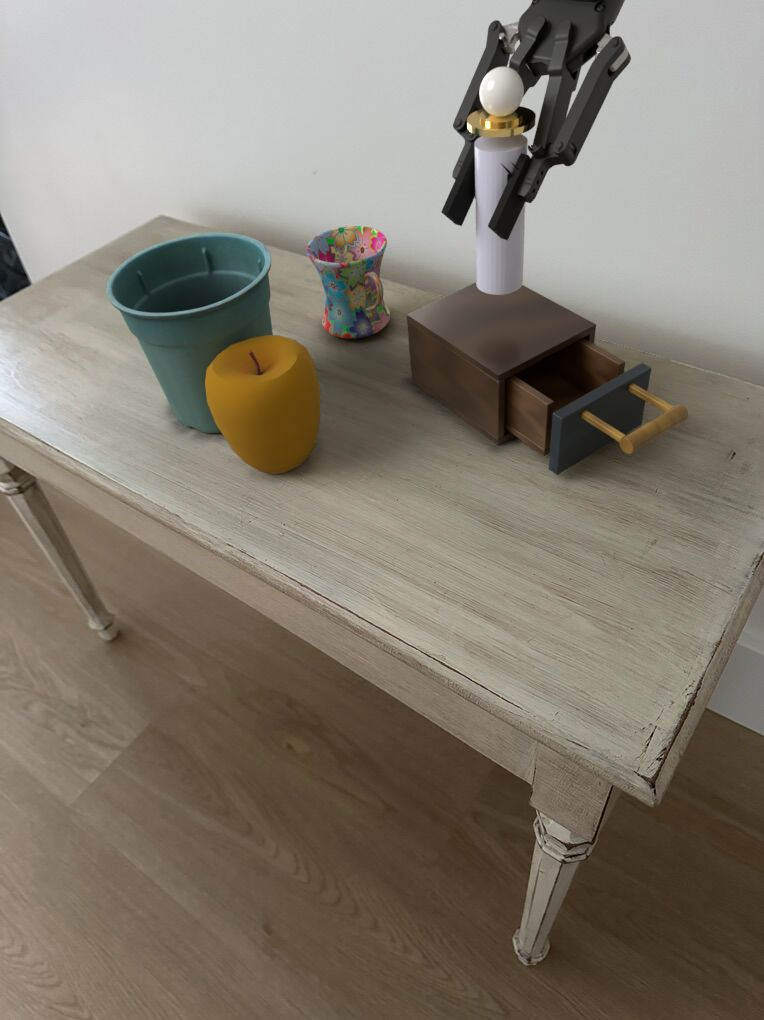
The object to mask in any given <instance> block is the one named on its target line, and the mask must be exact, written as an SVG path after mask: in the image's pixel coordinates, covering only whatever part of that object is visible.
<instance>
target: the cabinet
mask: <svg viewBox="0 0 764 1020" xmlns="http://www.w3.org/2000/svg"><path fill="white" fill-rule="evenodd" d="M406 325H407V336H408V337H407V339H408V352H409V360H410V361H409V362H410V375H411V382H412V383H413V384H415V385H416V386H417V387H419V388H420V389H421V390H423V391H424V392H425V393H427V394H428V395H429V396H431V397H432V398H433V399H435V400H436V401H437V402H439V403H440V404H442V405H443V406H444V407H445V408H446V409H448V410H449V411H451V412H452V413H454V414H455V415H456V416H457V417H459V418H460V419H462V420H463V421H464V422H466V423H467V424H469V425H470V426H471V427H472V428H473V429H475V430H476V431H478V432H479V433H481V434H482V435H483V436H485V437H486V438H488V439H489V440H490V441H492V443H494V444H495V445H497V446H500V445H501V444H503V443H505V442H506V441H509V440H510V439H512V438H514V437H516V436H515V435H513V434H512V433H511V432H509V431H508V430H506V429H505V428H504V406H505V379H506V378H508V377H510V376H511V375H513V374H515V373H517V372H519V371H521V370H523V369H525V368H527V367H528V366H530V365H532V364H534V363H536V362H538V361H540V360H542V359H544V358H546V357H547V356H549V355H551V354H553V353H555V352H557V351H559V350H561V349H563V348H564V347H566V346H568V345H570V344H572V343H574V342H576V341H578V340H580V339H582V338H585V339H586V340H588V341H590V342H592V343H594V344H595V340H596V339H595V338H596V331H597V324H596V323H595V322H593V321H590V320H589V319H587V318H585V317H583V316H581V315H579V314H578V313H576V312H574V311H572V310H570V309H568V308H566V307H564V306H563V305H561V304H559V303H557V302H555V301H553V300H552V299H550V298H548V297H546V296H544V295H542V294H540V293H539V292H536V291H535V290H533V289H531V288H529V287H528V286H526V285H524V284H522V286H521V287H520V288H519V289H518V290H516V291H514V292H512V293H509V294H503V295H493V294H488V293H485V292H482V291H481V290H479V289H478V288H477V286H476V282H473V283H472V284H469V285H467V286H465V287H463V288H460V289H458V290H456V291H454V292H452V293H450V294H448V295H446V296H443V297H441V298H439V299H437V300H435V301H433V302H430V303H428V304H426V305H423V306H422V307H420V308H417V309H416V310H413V311H411V312H409V313H407V314H406Z"/></svg>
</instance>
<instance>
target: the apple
mask: <svg viewBox="0 0 764 1020" xmlns="http://www.w3.org/2000/svg"><path fill="white" fill-rule="evenodd" d="M319 381H320V380H319V377H318V374H317V371H316V366H315V362H314V360H313V357H312V355H311V354H310V352H309V350H308V349H307V348H306V347H305V346H304V345H303V344H301V342H299V341H298V340H296V339H294V338H290V337H286V336H283V335H280V334H279V335H278V334H275V335H274V334H273V335H265V336H260V337H254V338H250V339H247V340H244V341H241V342H238V343H235V344H232V345H230V346H229V347H228V348H226V349H225V350H223V351H222V352H221V353H220V354H219V355H217V357H216V358H215V359H214V360H213V362H212V363H211V364H210V365H209V367H208V368H207V371H206V379H205V388H206V396H207V403H208V406H209V408H210V411H211V413H212V415H213V418H214V420H215V423H216V425H217V426H218V428H219V430H220V431H221V432H220V433H221V435H222V436H223V437H224V439H225V440H226V442H227V444H228V445H229V446H230V448H231V450H232V451H233V452H234V454H235V455H236V456H238V458H239V459H241V461H242V462H244V463H245V464H246V465H248V466H249V467H251V468H253V469H255V470H257V471H259V472H262V473H265V474H268V475H269V474H270V475H276V474H281V473H282V474H283V473H287V472H289V471H291V470H293V469H295V468H298V467H300V465H302V464H303V463H304V462H305V461H306V460H308V458H309V456H310V455H311V454H312V452H313V449H314V448H315V447H316V443H317V439H318V436H319V431H320V421H321V387H320V382H319Z"/></svg>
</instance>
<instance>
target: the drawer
mask: <svg viewBox="0 0 764 1020" xmlns="http://www.w3.org/2000/svg"><path fill="white" fill-rule="evenodd" d="M625 368H626V361H625V360H624V359H622V358H620V357H619V356H617V355H615V354H613V353H612V352H610V351H608V350H607V349H605V348H602V347H600V345H597V344H595V342H594V343H592V342H590V341H588V340H586V339H585V338H582V339H580V340H578V341H576V342H574V343H572V344H570V345H568V346H566V347H564V348H563V349H561V350H559V351H557V352H555V353H553V354H551V355H549V356H547V357H546V358H544V359H542V360H540V361H538V362H536V363H534V364H532V365H530V366H528V367H527V368H525V369H523V370H521V371H519V372H517V373H515V374H513V375H511V376H510V377H508V378H506V379H505V406H504V428H505V429H506V430H508V431H509V432H511V433H512V434H513V435H515V436H514V437H516V438H518V439H519V440H520V441H521V442H524V444H526V445H527V446H529V447H530V448H531V449H532V450H534V451H535V452H537V453H539V454H540V455H541V456H543V457H547V456H548V455H549V457H548V470H549V471H550V472H552V473H553V474H554V475H556V476H559V475H560V474H562V473H564V472H566V471H567V470H569V469H570V468H572V467H574V466H575V465H577V464H578V463H580V462H582V461H583V460H586V459H587V458H589V457H590V456H592V455H593V454H595V453H597V452H598V451H600V450H603V449H604V448H605V447H607V446H609V445H610V444H612V443H614V442H618V443H619V447H620V449H621V450H622V452H624V454H627V455H631V454H632V453H634V452H636V451H638V450H639V449H640V448H643V447H644V446H646V445H647V444H649V443H650V442H652V441H654V440H655V439H657V438H658V437H660V436H663V434H666V432H668V431H670V430H671V429H673V428H675V427H677V426H678V425H679V424H681V423H683V422H685V421H686V420H688V418H689V416H690V415H689V410H688V409H687V407H686V406H685V405H683V404H677V405H675V406H674V405H672V404H670V403H668V402H666V401H664V400H663V399H661V398H660V397H659V396H656V395H655V394H653V393H651V392H649V391H648V389H649V385H650V380H651V379H650V378H651V374H652V367H651V366H649V365H647V364H645V363H643V362H641V363H639V364H637V365H635V366H634V367H632V368H630V369H629V370H626V371H625ZM646 403H649V404H650V405H652V406H653V407H655V408H657V409H659V410H661V411H662V412H663V413H661V414H659V415H658V416H656V417H655V418H653V419H651V420H650V421H648V422H647V423H645V424H643V419H644V413H645V406H646ZM642 424H643V425H642Z"/></svg>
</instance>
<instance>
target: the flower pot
mask: <svg viewBox="0 0 764 1020" xmlns="http://www.w3.org/2000/svg"><path fill="white" fill-rule="evenodd" d="M271 267H272V255H271V252H270V250H269V248H268V247H267V246H266V245H265V244H264V243H263V242H261V241H259V240H258V239H256V238H254V237H251V236H248V235H244V234H240V233H235V232H206V233H196V234H190V235H185V236H180V237H176V238H173V239H168V240H166V241H162V242H159V243H157V244H153V245H152V246H149V247H147V248H145V249H143V250H141V251H139V252H136V254H134V255H132V256H130V257H129V258H127V259H126V260H125V261H123V262H122V263H121V264H120V265H119V266H118V267H117V268H116V269H115V270H114V272H112V274H111V275H110V277H109V279H108V281H107V282H106V283H107V284H106V288H105V293H106V297H107V299H108V300H109V302H110V303H111V305H112V306H113V307H114V308H115V309H117V310H118V311H119V312H120V314H121V316H122V318H123V320H124V322H125V324H126V326H127V328H128V330H129V332H130V333H131V334H132V335H133V336H134V337H136V339H137V341H138V343H139V345H140V347H141V349H142V351H143V353H144V355H145V357H146V359H147V361H148V364H149V365H150V367H151V369H152V371H153V373H154V375H155V377H156V379H157V381H158V383H159V385H160V387H161V389H162V391H163V393H164V394H163V395H164V396H165V398H166V399H167V402H168V404H169V406H170V408H171V410H172V412H173V414H174V416H175V418H176V420H177V421H178V422H179V423H180V424H181V425H182V426H184V427H185V428H190V427H191V428H194V429H196V430H198V431H199V432H201V433H205V434H206V433H207V434H219V433H221V431H220V430H219V428H218V426H217V425H216V423H215V420H214V418H213V415H212V413H211V411H210V408H209V406H208V403H207V396H206V388H205V379H206V371H207V368H208V367H209V365H210V364H211V363H212V362H213V360H214V359H215V358H216V357H217V355H219V354H220V353H221V352H222V351H223V350H225V349H226V348H228V347H229V346H230V345H232V344H235V343H238V342H241V341H244V340H247V339H250V338H254V337H260V336H265V335H274V333H273V325H272V317H271V308H270V302H271V301H270V300H271V296H272V295H271V285H270V278H269V276H270V275H269V273H270V271H271Z"/></svg>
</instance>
